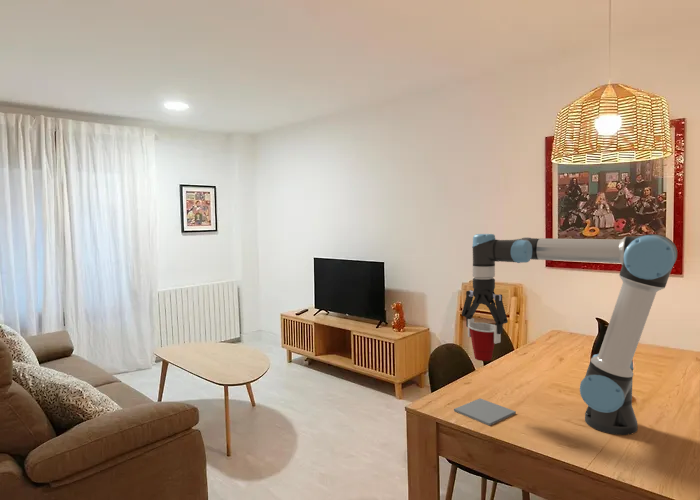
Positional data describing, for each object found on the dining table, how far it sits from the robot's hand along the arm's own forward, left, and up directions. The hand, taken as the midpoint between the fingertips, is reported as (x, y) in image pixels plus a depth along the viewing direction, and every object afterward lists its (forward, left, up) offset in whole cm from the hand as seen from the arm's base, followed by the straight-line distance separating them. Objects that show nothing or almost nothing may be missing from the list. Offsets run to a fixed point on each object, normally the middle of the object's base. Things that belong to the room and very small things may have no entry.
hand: (483, 339), depth 164 cm
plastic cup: (0, 0, -7) cm, 7 cm away
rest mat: (-2, +2, -26) cm, 26 cm away
